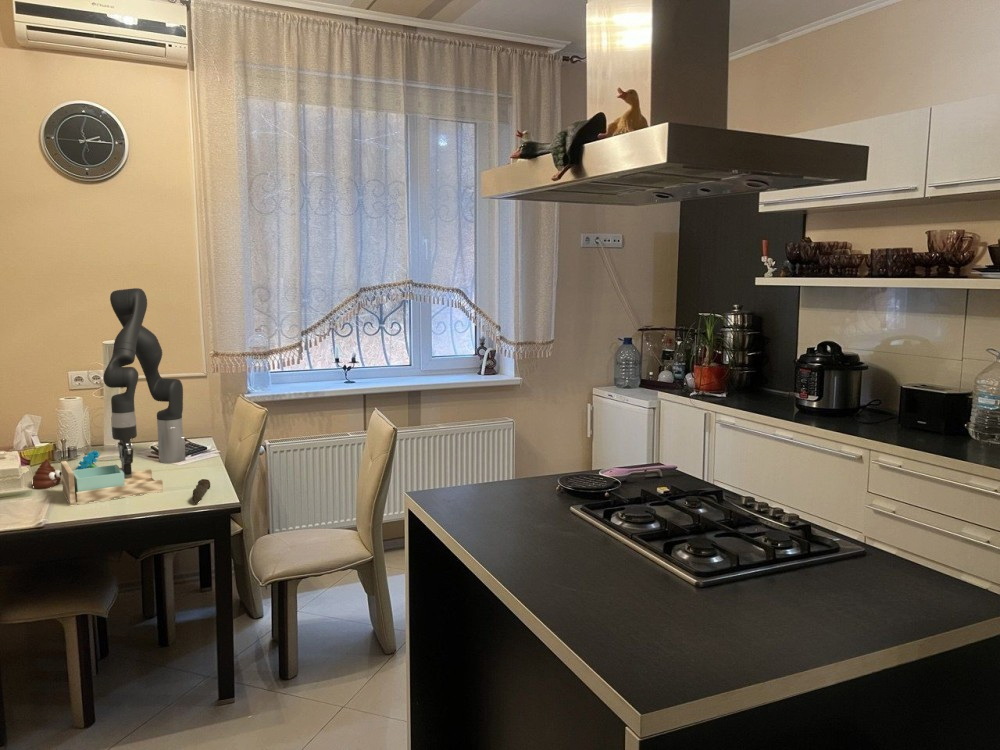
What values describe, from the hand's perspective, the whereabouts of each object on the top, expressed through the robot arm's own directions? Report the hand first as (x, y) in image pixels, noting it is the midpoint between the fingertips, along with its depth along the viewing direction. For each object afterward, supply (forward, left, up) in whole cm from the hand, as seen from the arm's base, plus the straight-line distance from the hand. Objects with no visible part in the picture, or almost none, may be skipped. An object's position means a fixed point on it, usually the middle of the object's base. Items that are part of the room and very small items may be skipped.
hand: (126, 473), depth 259 cm
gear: (+7, -34, -6) cm, 35 cm away
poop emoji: (+22, -22, -6) cm, 32 cm away
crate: (+7, 0, -5) cm, 9 cm away
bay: (+5, 0, -6) cm, 8 cm away
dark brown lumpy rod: (-19, +22, -7) cm, 30 cm away
